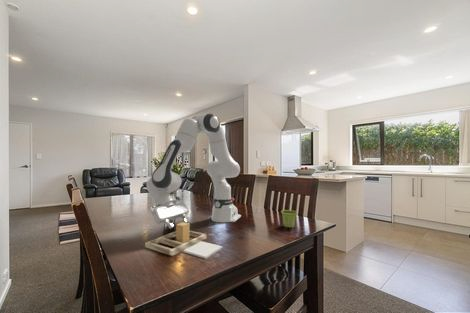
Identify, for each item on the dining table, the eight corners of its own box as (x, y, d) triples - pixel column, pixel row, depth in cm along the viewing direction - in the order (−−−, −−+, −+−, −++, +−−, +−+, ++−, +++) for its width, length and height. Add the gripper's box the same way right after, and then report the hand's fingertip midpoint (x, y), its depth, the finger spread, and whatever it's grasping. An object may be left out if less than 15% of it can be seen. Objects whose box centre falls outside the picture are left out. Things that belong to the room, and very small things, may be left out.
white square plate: (201, 242, 101) (201, 241, 101) (222, 248, 95) (222, 246, 95) (183, 252, 91) (183, 250, 91) (205, 258, 85) (205, 256, 85)
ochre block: (182, 237, 108) (182, 222, 108) (189, 239, 105) (189, 223, 105) (176, 240, 104) (176, 224, 104) (182, 242, 101) (183, 225, 102)
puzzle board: (181, 232, 116) (181, 228, 116) (206, 238, 107) (206, 234, 107) (145, 247, 96) (145, 242, 96) (172, 255, 87) (172, 250, 87)
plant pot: (295, 224, 132) (295, 210, 132) (298, 229, 122) (298, 214, 122) (280, 223, 132) (280, 209, 133) (282, 228, 123) (282, 213, 123)
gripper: (151, 202, 101) (166, 226, 96) (182, 196, 118) (196, 216, 113) (145, 211, 103) (159, 235, 98) (176, 203, 121) (189, 223, 115)
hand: (179, 225), depth 106 cm, fingers open, 8 cm apart
